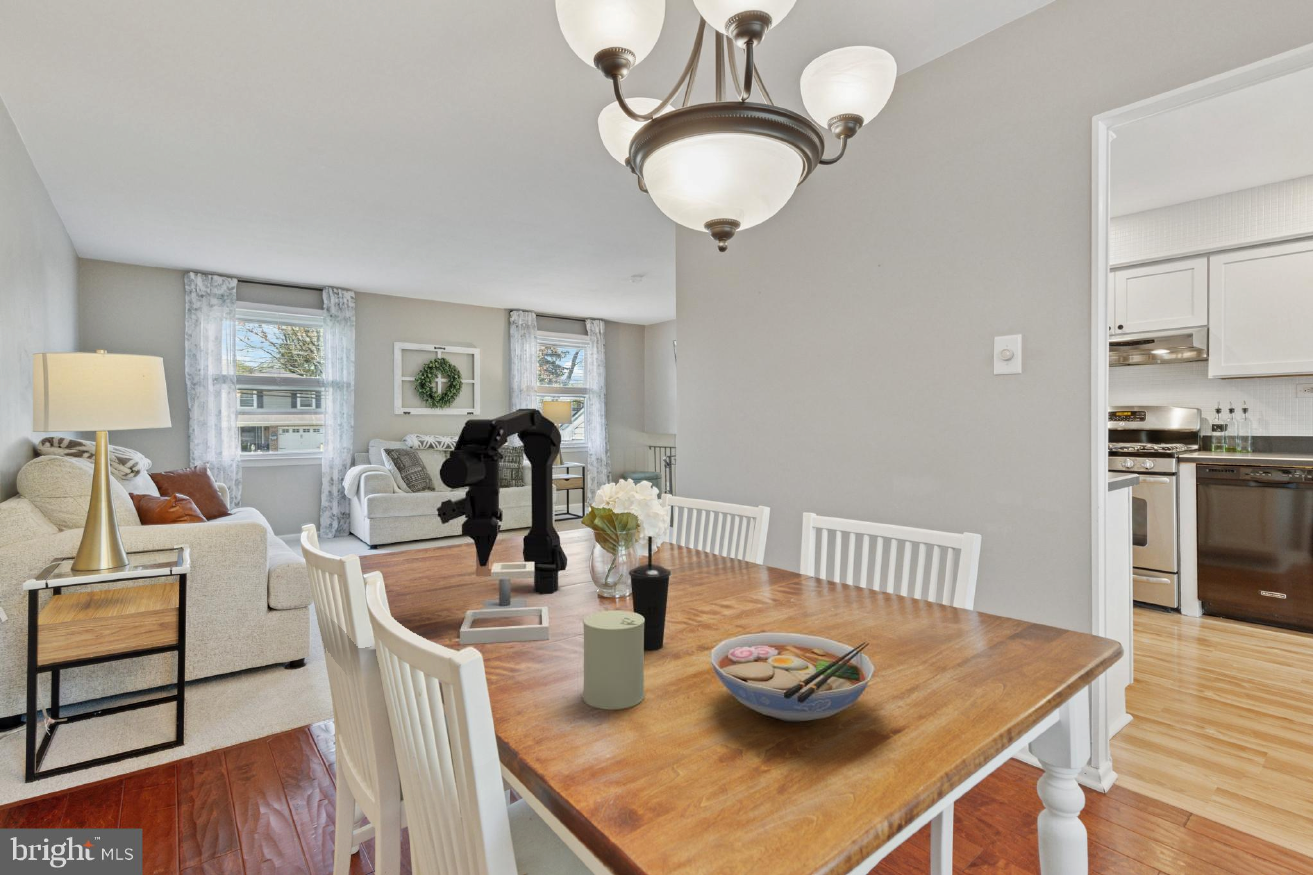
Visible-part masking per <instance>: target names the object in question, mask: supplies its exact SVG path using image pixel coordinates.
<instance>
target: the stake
mask: <svg viewBox="0 0 1313 875" xmlns="http://www.w3.org/2000/svg"><path fill="white" fill-rule="evenodd" d="M508 608H527V597H525V598H511V579H498V599H497V598H496V599H485V600H484V603H483V605H482V608H481V610H487V609H508Z"/></svg>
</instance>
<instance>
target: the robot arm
mask: <svg viewBox="0 0 1313 875" xmlns="http://www.w3.org/2000/svg"><path fill="white" fill-rule="evenodd" d="M513 435H516V436H517V438H518V439H519V441H520V442H521V444H522V445H523V454H524V456H525V458H526V459H527V460H528V462H529V463H530V467H531V468H530V470H531V471H530V472H531V476H530V477H531V478H530V481H531V482H530V483H531V490H530V492H531V500H530V501H531V528H530V529H529V531H528V533H527V534H526V535H524V537H523V539H522V544H523V549H522V556H523V562H534V578H533V592H534V593H538V594H539V595H553V594H555V593H556V592H557V591H559V572H561V571H566V568H567V566H568V558H567V556H566V554H565V551H564V550H563V547H562V546H561V538H560V535H559V533H558V532H557V530H556V528H555V527H554V521H553V520H554V519H553V518H554V515H553V514H554V509H553V508H554V506H553V500H554V499H553V496H554V495H553V492H554V491H553V489H554V488H553V484H554V483H553V479H554V478H553V466H554V465H553V464H554V462H555V461H556V459H557V457H558V456H559V455H560V449H561V448H560V447H561V446H560V445H561V444H562V443H561V442H562V434H561V432H560V430H559V429H558V427H557V426H556V424H555V422H553V421H551V420H550V419H549V418H547V417H545V416H544V415H543V414H542V413H541V411H540V410H539V409H537V408H519V409H516V410H515V411H512V412H510V413H506V414H504V415H501V416H498V417H495V418H491V419H490V418H489V419H487V418H485V419H483V418H482V419H479V418H477V419H473V418H471V419H470V418H469V419H467V420H466V421H465V423H464V425H463V427H462V429H461V432H460V434H459V436H458V438H457V441H456V443H455V445H454V448H453V450H449V457H447V459H445V460H444V461H443V462H442V464H441V466H440V468H439V478H440V480H441V482H442V483H443V485H444V486H445V487H447V488H449V489H451V490H456V489H463V488H467V490H466V492H465V496H464V497H461V498H458V499H456V500H452V499H451V498H449V499H447V500H444V501H441V503H440V505H439V506H438V507H437V508H436V512H437V517H438V518H439V519H440V522H441V524H442V525H445V524H447V523H450V521H453V520H455V519H458V518H461V517H463V516H464V518H465V519H466V520H464V521H463V523H462V524H461V535H462V536H468V537H469V538H470V539H471V540H472V541H473V542H474V546H475V551H477V555H478V559H479V564H480V566H486V564H487V562H488V559H489V556H490V557H491V553H492V551H493V548H494V546H495V543H496V540H497V539H498V535H499V532H500V530H501V527H502V525H501V524H499V522H501V523H502V522H503V518H504V517H503V515H504V512H503V510H502V509H501V508H500V492H501V488H500V460H504V459H505V458H504V455H503V453H502V452H500V451H499V450H500V448H502V447H504V445H506V444H507V443H508V438H509V437H511V436H513Z"/></svg>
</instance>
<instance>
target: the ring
mask: <svg viewBox="0 0 1313 875" xmlns="http://www.w3.org/2000/svg"><path fill="white" fill-rule="evenodd" d="M475 551H476V550H475ZM475 554H476V555H475V557H476V560H475V561H476V562H475V563H476V565H475V577H479V578H480V577H490V580H499V579H510V580H511V579H513V580H514V579H515V580H517V579H534V562H524V561H518V562H516V561H515V562H493V564H492V565H491V555H490V556H489V559H488V562H487V564H486V566H480V564H479V559H478V555H477V551H476V552H475Z"/></svg>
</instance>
